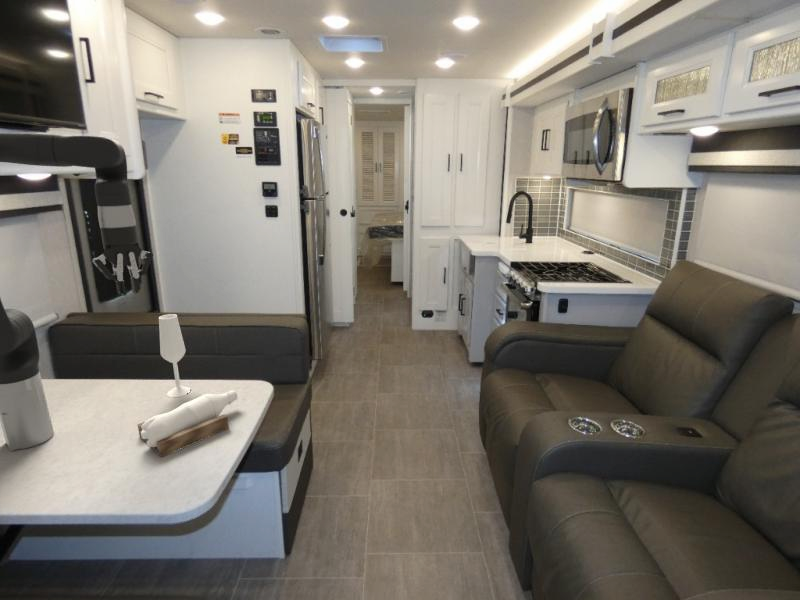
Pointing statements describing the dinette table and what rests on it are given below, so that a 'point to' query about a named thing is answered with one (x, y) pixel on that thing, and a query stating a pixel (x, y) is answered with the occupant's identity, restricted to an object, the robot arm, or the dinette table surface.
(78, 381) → the dinette table surface
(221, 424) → the walnut cradle
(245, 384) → the dinette table surface
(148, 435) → the water bottle
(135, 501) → the dinette table surface
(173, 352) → the champagne flute
